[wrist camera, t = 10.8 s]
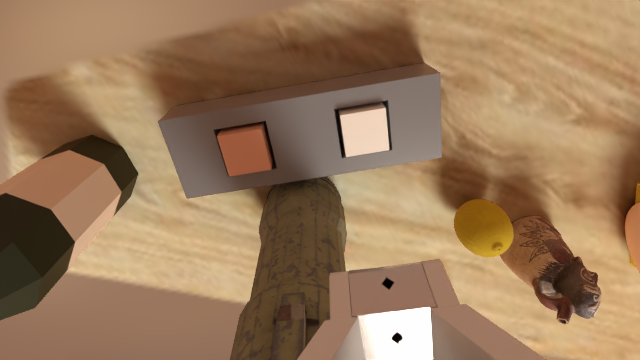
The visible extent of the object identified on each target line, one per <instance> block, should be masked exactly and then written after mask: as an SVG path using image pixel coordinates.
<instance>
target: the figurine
mask: <svg viewBox="0 0 640 360" xmlns="http://www.w3.org/2000/svg"><path fill="white" fill-rule="evenodd" d="M512 226H513V232H514V237H513V241H512V243H511V245H510V247H509V248H508V249H507V250H506V251H505V252H504V253H502V254H500V256H501V258H502V260H503V261H504V262H505V264H506V265H507V266H508V267H509V268H510V269H511V270H512V271H513V272H514V273H515V274H516V275H517V276H518V277H519V278H520V279H522V280H523V281H524V282H525V283H527V284H528V285H529V286H530V287H531V288H533V289H534V290H535V294H536V296H537V297H538V299H539V301H540V302H541V303H542V304H543V305H544V306H545V307H547V308H549V309H551V310H554V311H558V312H557V320H558V322H560V323H562V324H568V322H569V320H570V317H571V314H572V313H576V314H577V315H579V316H581V317H583V318H586V319H589V318H592V317H594V316H595V314H596V313H597V311H598V309H599V306H600V303H601V290H600V288H599V287H598V286H597V281H598V275H597V273H594V272H591V271H588V270H587V269H586V268H585V266H584V265H583V263H582V260H581V258H580V257H574V256H573V254H572V252H571V250H570V249H569V247H568V246H567V245H566V243H565V242H564V241H563V239H562V237H561V234H560V233H559V232H558V231H557V230H556V229H555V228H554V226H553V225H552V224H550V223H549V222H548V221H547V220H545V219H543V218H542V217H540V216H527V217H523V218H520V219H518V220H516V221H514V222H513V223H512ZM547 295H549V296H547Z"/></svg>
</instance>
